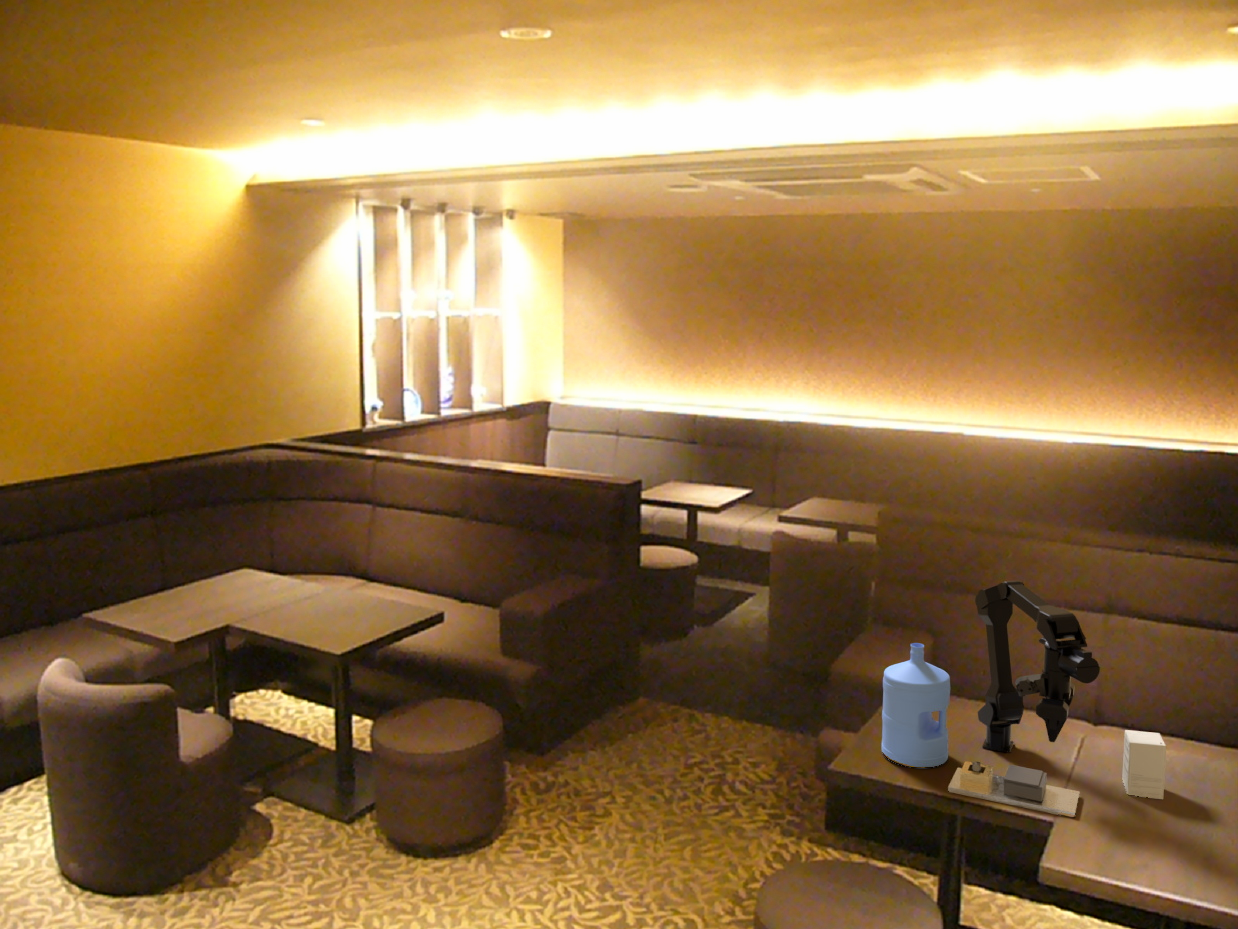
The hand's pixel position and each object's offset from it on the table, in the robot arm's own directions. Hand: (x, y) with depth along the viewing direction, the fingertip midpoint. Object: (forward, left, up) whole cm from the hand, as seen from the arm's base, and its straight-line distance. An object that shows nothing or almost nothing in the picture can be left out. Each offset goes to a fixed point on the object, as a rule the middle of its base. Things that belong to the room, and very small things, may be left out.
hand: (1054, 734), depth 222 cm
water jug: (-1, -31, -12) cm, 33 cm away
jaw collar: (+9, -15, -11) cm, 20 cm away
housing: (+9, -5, -11) cm, 15 cm away
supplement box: (-6, +18, -12) cm, 23 cm away
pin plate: (+9, -7, -12) cm, 17 cm away
